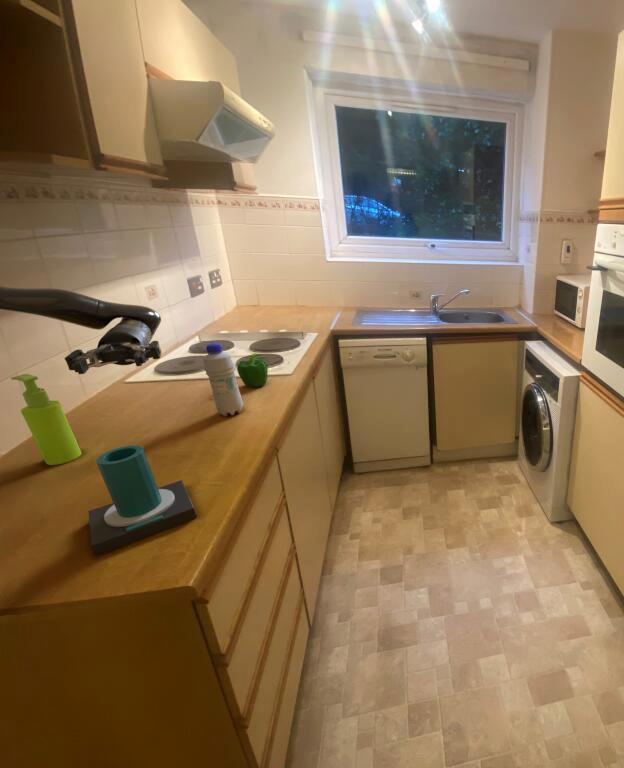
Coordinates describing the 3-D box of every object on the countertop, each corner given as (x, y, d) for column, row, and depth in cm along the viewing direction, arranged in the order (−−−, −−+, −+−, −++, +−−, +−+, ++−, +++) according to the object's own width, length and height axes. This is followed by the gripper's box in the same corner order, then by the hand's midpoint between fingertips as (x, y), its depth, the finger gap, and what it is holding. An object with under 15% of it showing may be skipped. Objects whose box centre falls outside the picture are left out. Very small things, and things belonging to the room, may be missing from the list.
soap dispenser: (68, 448, 102) (32, 369, 95) (87, 453, 100) (53, 373, 93) (36, 461, 97) (-4, 379, 89) (56, 467, 95) (17, 383, 87)
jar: (120, 522, 75) (97, 468, 71) (117, 505, 79) (95, 454, 75) (164, 506, 79) (145, 454, 75) (159, 491, 83) (140, 441, 79)
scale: (96, 556, 71) (90, 543, 70) (92, 520, 79) (87, 508, 78) (197, 517, 80) (192, 505, 79) (184, 488, 88) (180, 477, 87)
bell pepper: (249, 392, 133) (241, 361, 130) (237, 385, 138) (229, 356, 134) (276, 383, 140) (270, 354, 136) (264, 378, 144) (257, 349, 140)
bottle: (211, 417, 118) (191, 346, 110) (229, 406, 124) (211, 339, 116) (234, 418, 117) (215, 348, 109) (251, 408, 123) (234, 340, 115)
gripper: (169, 354, 101) (160, 376, 88) (89, 364, 94) (66, 390, 81) (160, 323, 98) (149, 341, 85) (76, 331, 91) (50, 352, 78)
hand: (108, 365), depth 83 cm, fingers open, 8 cm apart
